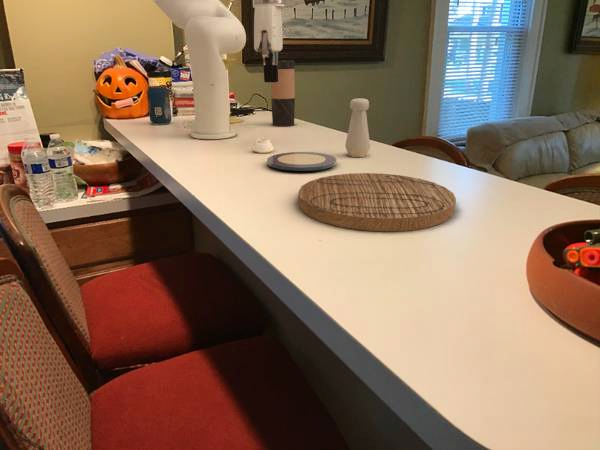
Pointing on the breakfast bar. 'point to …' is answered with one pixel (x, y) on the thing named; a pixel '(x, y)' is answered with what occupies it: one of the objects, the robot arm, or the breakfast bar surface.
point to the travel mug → (283, 95)
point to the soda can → (159, 105)
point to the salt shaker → (358, 129)
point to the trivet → (376, 202)
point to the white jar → (263, 146)
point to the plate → (301, 161)
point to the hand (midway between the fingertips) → (271, 82)
